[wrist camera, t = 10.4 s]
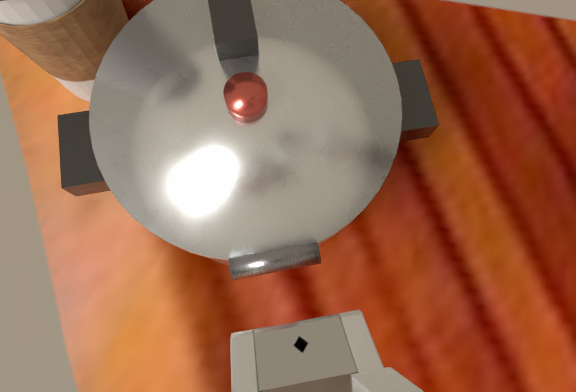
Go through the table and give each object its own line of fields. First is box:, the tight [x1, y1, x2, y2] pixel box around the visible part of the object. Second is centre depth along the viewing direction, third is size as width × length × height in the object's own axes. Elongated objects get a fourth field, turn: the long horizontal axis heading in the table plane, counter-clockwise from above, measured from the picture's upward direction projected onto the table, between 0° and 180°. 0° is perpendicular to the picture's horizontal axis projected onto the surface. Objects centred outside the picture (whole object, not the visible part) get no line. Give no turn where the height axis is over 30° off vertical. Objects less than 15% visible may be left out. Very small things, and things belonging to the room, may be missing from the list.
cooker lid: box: [89, 0, 402, 280], centre depth 21 cm, size 15×16×2 cm
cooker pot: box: [58, 59, 439, 266], centre depth 26 cm, size 20×14×9 cm
